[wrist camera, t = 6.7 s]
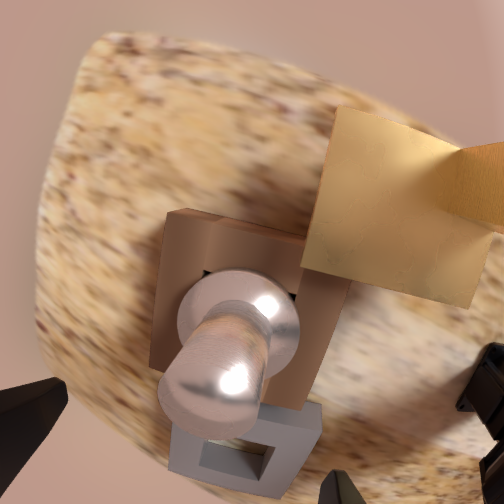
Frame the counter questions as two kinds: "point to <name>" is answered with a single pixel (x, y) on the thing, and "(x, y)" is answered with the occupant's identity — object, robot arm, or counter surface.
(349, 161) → the brass key
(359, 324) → the counter surface
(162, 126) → the counter surface
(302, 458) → the grey square collar
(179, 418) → the steel pin
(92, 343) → the counter surface
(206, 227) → the walnut socket block
